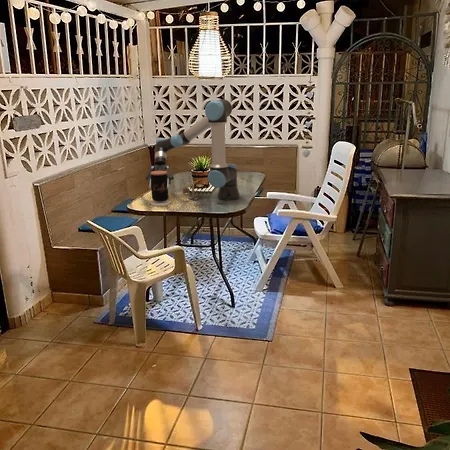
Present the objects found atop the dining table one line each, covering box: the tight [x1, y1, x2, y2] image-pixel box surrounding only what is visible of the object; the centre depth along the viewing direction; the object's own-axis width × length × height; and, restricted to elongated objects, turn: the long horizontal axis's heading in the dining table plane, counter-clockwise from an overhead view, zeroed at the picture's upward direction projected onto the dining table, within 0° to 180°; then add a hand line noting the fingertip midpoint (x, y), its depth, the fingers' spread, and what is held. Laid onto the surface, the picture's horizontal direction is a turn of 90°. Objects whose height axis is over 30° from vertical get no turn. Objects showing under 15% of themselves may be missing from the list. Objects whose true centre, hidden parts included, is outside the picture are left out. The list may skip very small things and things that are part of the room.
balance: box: [182, 178, 204, 202], centre depth 318 cm, size 6×17×13 cm, turn 133°
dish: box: [149, 199, 172, 208], centre depth 310 cm, size 13×13×2 cm
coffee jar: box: [150, 170, 170, 201], centre depth 306 cm, size 11×11×18 cm
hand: (159, 188), depth 304 cm, fingers closed on coffee jar, 10 cm apart
